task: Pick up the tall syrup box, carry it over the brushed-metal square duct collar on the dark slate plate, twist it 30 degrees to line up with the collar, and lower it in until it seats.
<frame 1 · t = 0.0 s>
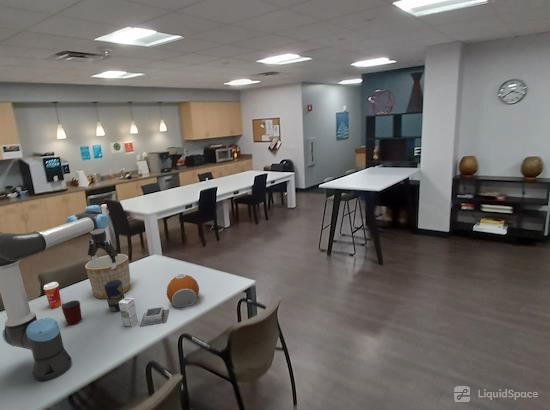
hand: (105, 267, 202), 28 cm above the table, fingers open, 13 cm apart
canister: (118, 308, 211), on the table
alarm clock: (184, 302, 212), on the table
duct collar: (154, 318, 196), on the table
mug: (72, 321, 200), on the table
planter: (113, 291, 235), on the table
coffee cup: (56, 306, 220), on the table
syrup box: (130, 324, 192), on the table
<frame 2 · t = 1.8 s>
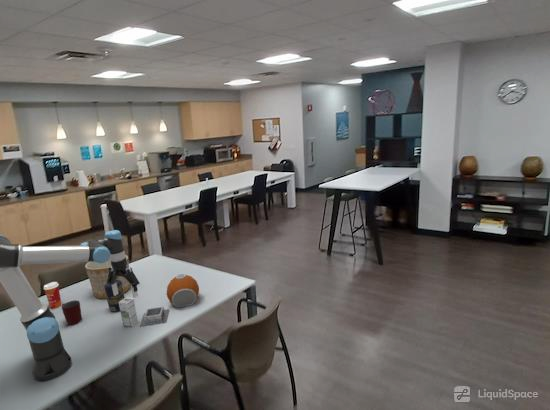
hand: (125, 295, 188), 17 cm above the table, fingers open, 13 cm apart
nothing on the table moved.
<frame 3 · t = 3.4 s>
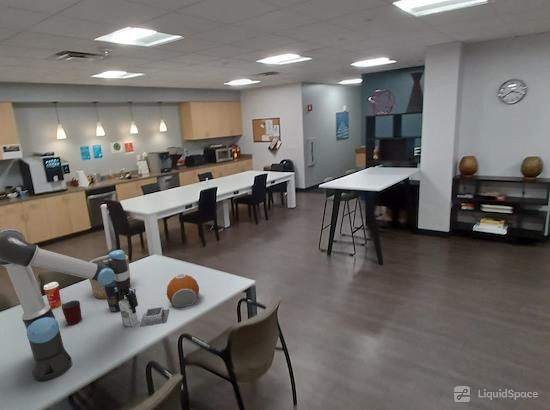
hand: (129, 317, 191), 4 cm above the table, fingers closed on syrup box, 6 cm apart
syrup box: (130, 324, 192), on the table, touching gripper
everything else where it was.
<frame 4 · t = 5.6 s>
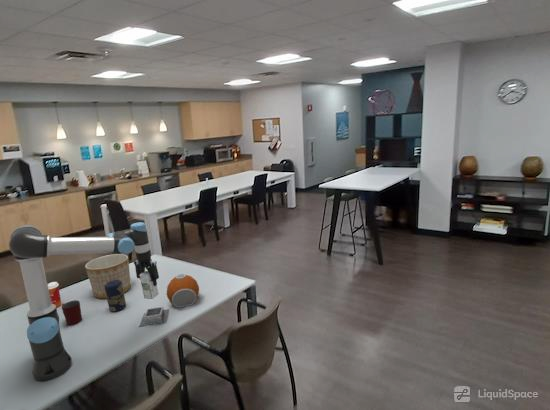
hand: (150, 290, 192), 17 cm above the table, fingers closed on syrup box, 6 cm apart
syrup box: (151, 296, 193), point 13 cm above the table, touching gripper
everything else where it was.
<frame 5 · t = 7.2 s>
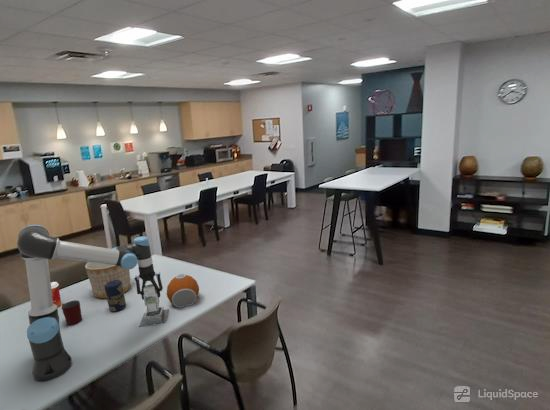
hand: (152, 303, 194), 9 cm above the table, fingers closed on syrup box, 6 cm apart
syrup box: (153, 309, 195), point 5 cm above the table, touching gripper
everything else where it was.
when the fingers open (6 cm above the table, at t = 8.1 s): syrup box drops 2 cm, resting on duct collar.
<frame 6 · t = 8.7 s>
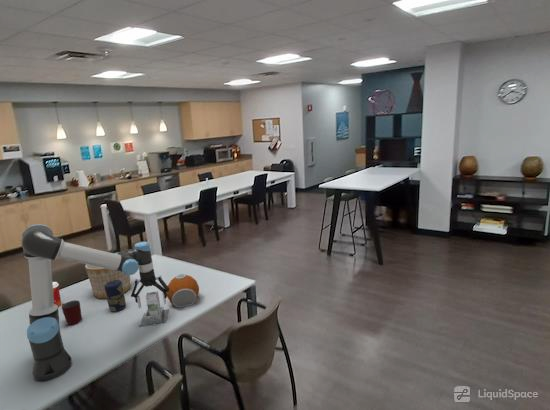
hand: (152, 305, 194), 8 cm above the table, fingers open, 13 cm apart
syrup box: (156, 317, 196), resting on duct collar
everything else where it was.
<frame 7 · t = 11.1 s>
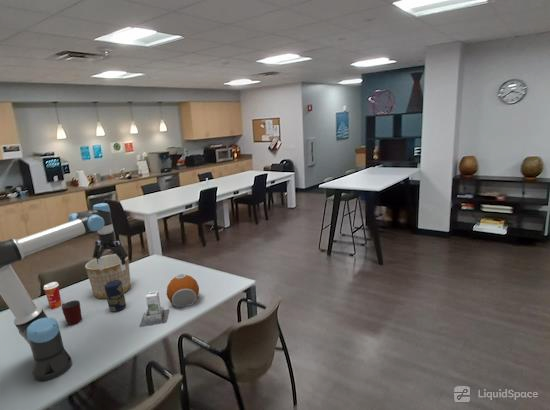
hand: (112, 269, 189), 31 cm above the table, fingers open, 13 cm apart
nothing on the table moved.
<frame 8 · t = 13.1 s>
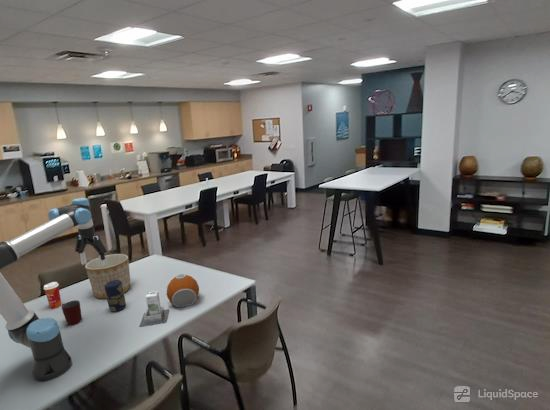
hand: (93, 264, 188), 35 cm above the table, fingers open, 13 cm apart
nothing on the table moved.
at the end: syrup box 0.7 cm from the duct collar (horizontally); syrup box resting on duct collar; syrup box tilted 0° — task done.
